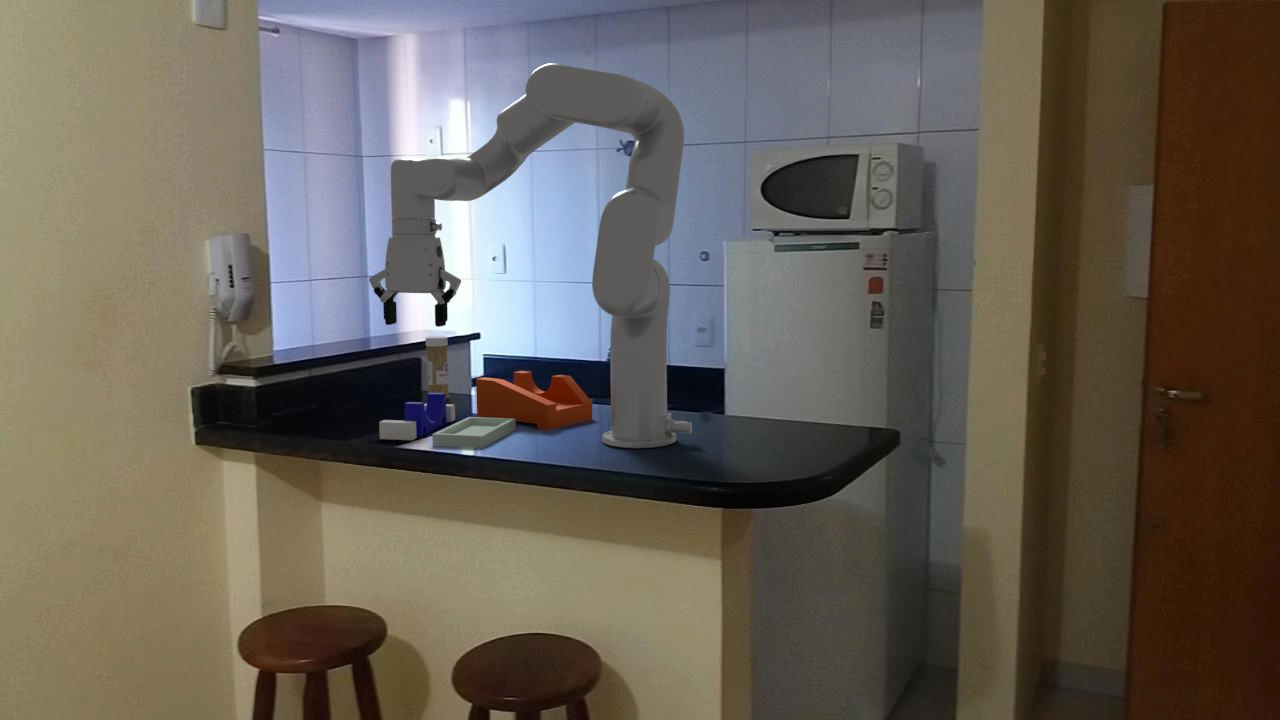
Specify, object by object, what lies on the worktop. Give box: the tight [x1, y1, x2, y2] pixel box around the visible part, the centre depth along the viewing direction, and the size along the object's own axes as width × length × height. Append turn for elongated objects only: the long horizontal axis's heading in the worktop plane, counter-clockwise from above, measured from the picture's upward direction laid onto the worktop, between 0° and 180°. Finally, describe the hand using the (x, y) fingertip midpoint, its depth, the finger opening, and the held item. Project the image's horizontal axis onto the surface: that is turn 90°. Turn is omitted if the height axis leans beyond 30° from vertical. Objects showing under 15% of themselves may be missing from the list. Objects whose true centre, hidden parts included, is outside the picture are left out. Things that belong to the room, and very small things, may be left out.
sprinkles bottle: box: [425, 335, 450, 400], centre depth 225 cm, size 5×5×13 cm
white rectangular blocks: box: [378, 403, 456, 441], centre depth 194 cm, size 6×19×3 cm, turn 167°
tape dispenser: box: [475, 370, 593, 431], centre depth 202 cm, size 18×13×8 cm
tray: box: [431, 416, 516, 449], centre depth 186 cm, size 9×16×2 cm, turn 167°
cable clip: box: [404, 393, 448, 437], centre depth 194 cm, size 12×4×6 cm, turn 169°
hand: (415, 325), depth 192 cm, fingers open, 9 cm apart
